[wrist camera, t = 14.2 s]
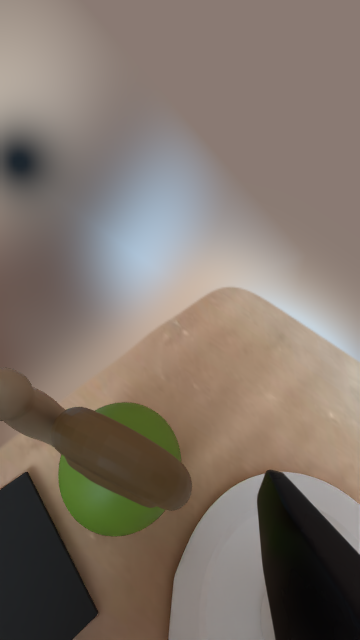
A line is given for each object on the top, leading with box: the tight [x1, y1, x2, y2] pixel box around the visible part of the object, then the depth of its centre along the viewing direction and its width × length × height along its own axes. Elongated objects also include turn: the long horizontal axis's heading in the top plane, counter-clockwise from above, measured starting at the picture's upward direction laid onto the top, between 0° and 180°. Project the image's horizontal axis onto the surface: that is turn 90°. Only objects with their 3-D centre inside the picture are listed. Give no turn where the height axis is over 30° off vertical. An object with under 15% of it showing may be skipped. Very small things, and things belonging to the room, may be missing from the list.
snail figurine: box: [0, 368, 192, 536], centre depth 11 cm, size 5×6×12 cm
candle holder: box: [168, 472, 360, 640], centre depth 12 cm, size 12×12×4 cm
